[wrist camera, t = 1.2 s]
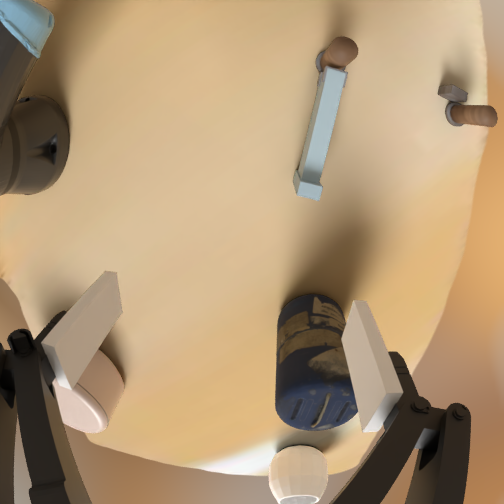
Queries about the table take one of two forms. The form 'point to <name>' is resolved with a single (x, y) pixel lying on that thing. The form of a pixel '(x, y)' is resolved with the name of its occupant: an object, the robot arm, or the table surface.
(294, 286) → the table surface
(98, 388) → the container
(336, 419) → the canister
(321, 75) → the gate
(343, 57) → the gateposts
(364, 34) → the table surface
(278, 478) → the cup
